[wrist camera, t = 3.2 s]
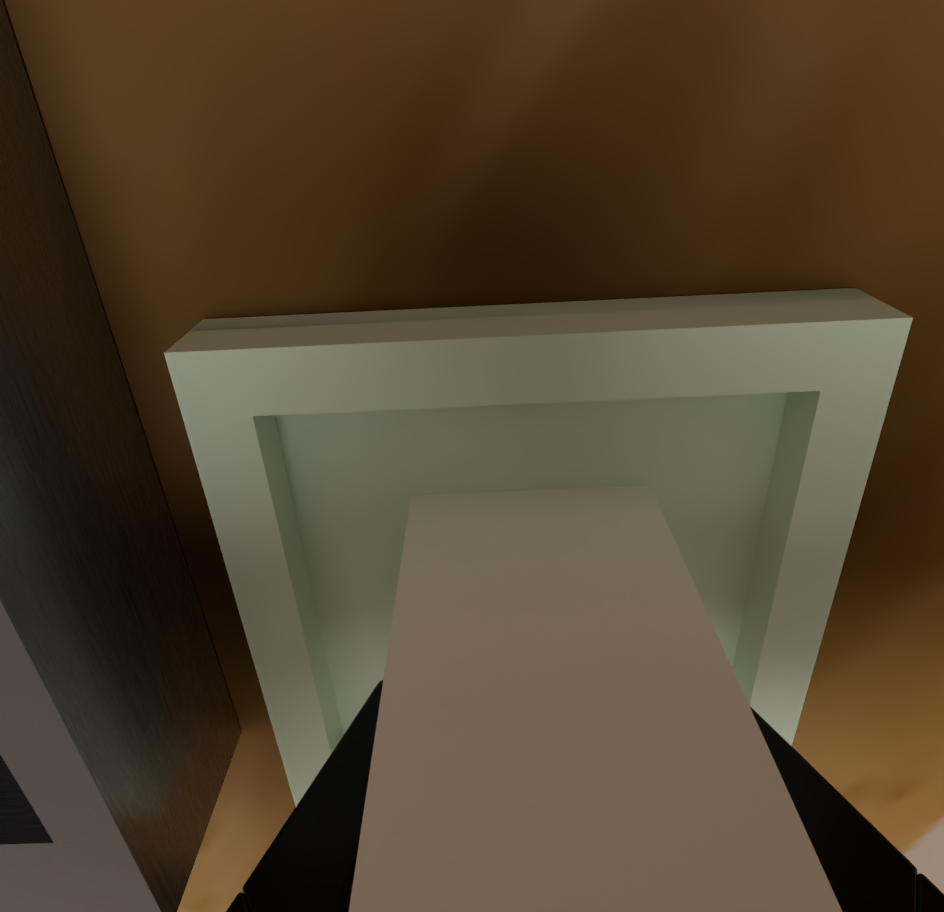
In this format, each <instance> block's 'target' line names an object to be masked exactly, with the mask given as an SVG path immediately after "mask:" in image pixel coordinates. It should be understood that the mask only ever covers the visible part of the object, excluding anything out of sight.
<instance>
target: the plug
mask: <svg viewBox="0 0 944 912" xmlns="http://www.w3.org/2000/svg"><path fill="white" fill-rule="evenodd" d="M349 912H842V910H841V907H840V905H839V903H838V901H837V899H836V896H835V894H834V892H833V890H832V887H831V885H830V883H829V881H828V879H827V876H826V874H825V872H824V870H823V868H822V865H821V863H820V861H819V859H818V857H817V854H816V852H815V850H814V848H813V845H812V843H811V841H810V839H809V837H808V834H807V832H806V830H805V828H804V826H803V823H802V821H801V819H800V817H799V814H798V812H797V810H796V808H795V806H794V803H793V801H792V799H791V797H790V795H789V792H788V790H787V788H786V786H785V783H784V781H783V779H782V777H781V775H780V772H779V770H778V768H777V766H776V764H775V761H774V759H773V757H772V755H771V752H770V750H769V748H768V746H767V744H766V741H765V739H764V737H763V735H762V733H761V730H760V728H759V726H758V724H757V721H756V719H755V717H754V715H753V713H752V710H751V708H750V706H749V704H748V702H747V699H746V697H745V695H744V693H743V690H742V688H741V686H740V684H739V682H738V679H737V677H736V675H735V673H734V671H733V668H732V666H731V664H730V662H729V659H728V657H727V655H726V653H725V651H724V648H723V646H722V644H721V642H720V640H719V637H718V635H717V633H716V631H715V629H714V626H713V624H712V622H711V620H710V617H709V615H708V613H707V611H706V609H705V606H704V604H703V602H702V600H701V598H700V595H699V593H698V591H697V589H696V586H695V584H694V582H693V580H692V578H691V575H690V573H689V571H688V569H687V567H686V564H685V562H684V560H683V558H682V555H681V553H680V551H679V549H678V547H677V544H676V542H675V540H674V538H673V536H672V533H671V531H670V529H669V527H668V524H667V522H666V520H665V518H664V516H663V513H662V511H661V509H660V507H659V505H658V502H657V500H656V498H655V496H654V493H653V491H652V489H651V487H650V485H641V486H617V487H593V488H569V489H545V490H521V491H497V492H473V493H449V494H426V495H411V498H410V505H409V511H408V518H407V525H406V532H405V538H404V545H403V552H402V558H401V565H400V572H399V578H398V585H397V592H396V598H395V605H394V612H393V619H392V625H391V632H390V639H389V645H388V652H387V659H386V665H385V672H384V679H383V685H382V692H381V699H380V705H379V712H378V719H377V726H376V732H375V739H374V746H373V752H372V759H371V766H370V772H369V779H368V786H367V792H366V799H365V806H364V813H363V819H362V826H361V833H360V839H359V846H358V853H357V859H356V866H355V873H354V879H353V886H352V893H351V899H350V906H349Z"/></svg>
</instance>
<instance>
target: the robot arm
mask: <svg viewBox="0 0 944 912" xmlns="http://www.w3.org/2000/svg"><path fill="white" fill-rule="evenodd" d="M382 685H383V680H381V681H380V682H379V683H378V684H377V685H376V687H375V688H374V690H373V691H372V693H371V694H370V696H369V697H368V699H367V700H366V702H365V703H364V705H363V706H362V708H361V709H360V711H359V712H358V714H357V715H356V717H355V718H354V720H353V721H352V723H351V724H350V726H349V728H348V729H347V731H346V732H345V734H344V735H343V737H342V738H341V740H340V741H339V743H338V744H337V746H336V747H335V749H334V750H333V752H332V753H331V755H330V756H329V758H328V759H327V761H326V762H325V764H324V765H323V767H322V768H321V770H320V771H319V773H318V774H317V776H316V777H315V779H314V780H313V782H312V783H311V785H310V786H309V788H308V789H307V791H306V792H305V794H304V795H303V797H302V798H301V800H300V802H299V803H298V805H297V806H296V808H295V809H294V811H293V812H292V814H291V815H290V817H289V818H288V820H287V821H286V823H285V824H284V826H283V827H282V829H281V830H280V832H279V833H278V835H277V836H276V838H275V839H274V841H273V842H272V844H271V845H270V847H269V848H268V850H267V851H266V853H265V854H264V856H263V857H262V859H261V860H260V862H259V863H258V865H257V866H256V868H255V869H254V871H253V872H252V874H251V876H250V877H249V879H248V880H247V882H246V883H245V885H244V886H243V892H244V894H243V893H239V894H238V895H237V896H236V898H235V899H234V901H233V902H232V904H231V905H230V907H229V908H228V910H227V911H226V912H349V906H350V899H351V893H352V886H353V879H354V873H355V866H356V859H357V853H358V846H359V839H360V833H361V826H362V819H363V813H364V806H365V799H366V792H367V786H368V779H369V772H370V766H371V759H372V752H373V746H374V739H375V732H376V726H377V719H378V712H379V705H380V699H381V692H382ZM749 706H750V705H749ZM750 708H751V710H752V713H753V715H754V717H755V719H756V721H757V724H758V726H759V728H760V730H761V733H762V735H763V737H764V739H765V741H766V744H767V746H768V748H769V750H770V752H771V755H772V757H773V759H774V761H775V764H776V766H777V768H778V770H779V772H780V775H781V777H782V779H783V781H784V783H785V786H786V788H787V790H788V792H789V795H790V797H791V799H792V801H793V803H794V806H795V808H796V810H797V812H798V814H799V817H800V819H801V821H802V823H803V826H804V828H805V830H806V832H807V834H808V837H809V839H810V841H811V843H812V845H813V848H814V850H815V852H816V854H817V857H818V859H819V861H820V863H821V865H822V868H823V870H824V872H825V874H826V876H827V879H828V881H829V883H830V885H831V887H832V890H833V892H834V894H835V896H836V899H837V901H838V903H839V905H840V907H841V910H842V912H944V894H943V893H942V892H941V891H940V890H939V889H938V888H937V887H936V886H935V885H934V884H932V882H930V881H929V879H927V877H925V876H924V875H923V874H918V875H917V869H916V867H915V866H914V865H913V864H912V863H911V862H910V861H909V860H908V859H907V858H906V857H905V856H904V855H903V854H902V853H901V852H899V851H898V850H897V849H896V848H895V847H894V846H893V845H892V844H891V843H890V842H889V841H888V840H887V839H886V838H885V837H884V836H883V835H882V834H881V833H880V832H879V831H878V830H877V829H876V828H875V827H874V826H873V825H872V824H871V823H870V822H869V821H868V820H867V819H866V818H865V817H864V816H863V815H862V814H860V813H859V812H858V811H857V810H856V809H855V808H854V807H853V806H852V805H851V804H850V803H849V802H848V801H847V800H846V799H845V798H844V797H843V796H842V795H841V794H840V793H839V792H838V791H837V790H836V789H835V788H834V787H833V786H832V785H831V784H830V783H829V782H828V781H827V780H826V779H825V778H824V777H823V776H821V775H820V774H819V773H818V772H817V771H816V770H815V769H814V768H813V767H812V766H811V765H810V764H809V763H808V762H807V761H806V760H805V759H804V758H803V757H802V756H801V755H800V754H799V753H798V752H797V751H796V750H795V749H794V748H793V747H792V746H791V745H790V744H789V743H788V742H787V741H786V740H785V739H784V738H782V737H781V736H780V735H779V734H778V733H777V732H776V731H775V730H774V729H773V728H772V727H771V726H770V725H769V724H768V723H767V722H766V721H765V720H764V719H763V718H762V717H761V716H760V715H759V714H758V713H757V712H756V711H755V710H754V709H753V708H752V707H751V706H750Z"/></svg>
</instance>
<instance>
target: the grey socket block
mask: <svg viewBox="0 0 944 912" xmlns="http://www.w3.org/2000/svg"><path fill="white" fill-rule="evenodd" d="M240 734H241V730H240V727H239V724H238V721H237V718H236V715H235V712H234V709H233V705H232V702H231V699H230V696H229V693H228V690H227V687H226V684H225V681H224V678H223V675H222V672H221V669H220V666H219V663H218V659H217V656H216V653H215V650H214V647H213V644H212V641H211V638H210V635H209V632H208V629H207V626H206V623H205V620H204V617H203V614H202V610H201V607H200V604H199V601H198V598H197V595H196V592H195V589H194V586H193V583H192V580H191V577H190V574H189V571H188V568H187V564H186V561H185V558H184V555H183V552H182V549H181V546H180V543H179V540H178V537H177V534H176V531H175V528H174V525H173V522H172V519H171V515H170V512H169V509H168V506H167V503H166V500H165V497H164V494H163V491H162V488H161V485H160V482H159V479H158V476H157V473H156V469H155V466H154V463H153V460H152V457H151V454H150V451H149V448H148V445H147V442H146V439H145V436H144V433H143V430H142V427H141V423H140V420H139V417H138V414H137V411H136V408H135V405H134V402H133V399H132V396H131V393H130V390H129V387H128V384H127V381H126V378H125V374H124V371H123V368H122V365H121V362H120V359H119V356H118V353H117V350H116V347H115V344H114V341H113V338H112V335H111V332H110V328H109V325H108V322H107V319H106V316H105V313H104V310H103V307H102V304H101V301H100V298H99V295H98V292H97V289H96V286H95V283H94V279H93V276H92V273H91V270H90V267H89V264H88V261H87V258H86V255H85V252H84V249H83V246H82V243H81V240H80V237H79V233H78V230H77V227H76V224H75V221H74V218H73V215H72V212H71V209H70V206H69V203H68V200H67V197H66V194H65V191H64V188H63V184H62V181H61V178H60V175H59V172H58V169H57V166H56V163H55V160H54V157H53V154H52V151H51V148H50V145H49V142H48V138H47V135H46V132H45V129H44V126H43V123H42V120H41V117H40V114H39V111H38V108H37V105H36V102H35V99H34V96H33V92H32V89H31V86H30V83H29V80H28V77H27V74H26V71H25V68H24V65H23V62H22V59H21V56H20V53H19V50H18V47H17V43H16V40H15V37H14V34H13V31H12V28H11V25H10V22H9V19H8V16H7V13H6V10H5V7H4V4H3V1H2V0H0V912H177V910H178V907H179V904H180V901H181V899H182V896H183V893H184V890H185V888H186V885H187V882H188V879H189V876H190V874H191V871H192V868H193V865H194V862H195V860H196V857H197V854H198V851H199V849H200V846H201V843H202V840H203V837H204V835H205V832H206V829H207V826H208V823H209V821H210V818H211V815H212V812H213V809H214V807H215V804H216V801H217V798H218V796H219V793H220V790H221V787H222V784H223V782H224V779H225V776H226V773H227V770H228V768H229V765H230V762H231V759H232V757H233V754H234V751H235V748H236V745H237V743H238V740H239V737H240Z"/></svg>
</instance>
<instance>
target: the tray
mask: <svg viewBox="0 0 944 912" xmlns="http://www.w3.org/2000/svg"><path fill="white" fill-rule="evenodd" d="M912 320H913V317H911V316H909V315H907V314H905V313H903V312H901V311H899V310H897V309H895V308H893V307H892V306H890V305H888V304H886V303H884V302H882V301H880V300H878V299H876V298H874V297H872V296H870V295H868V294H866V293H864V292H862V291H860V290H858V289H856V288H840V289H819V290H799V291H778V292H757V293H736V294H716V295H695V296H674V297H653V298H632V299H612V300H591V301H570V302H549V303H528V304H508V305H487V306H466V307H445V308H425V309H404V310H383V311H362V312H341V313H321V314H300V315H279V316H258V317H238V318H217V319H203V320H202V321H200V322H199V323H198V324H197V325H196V326H195V327H193V328H192V329H191V330H190V331H189V332H188V333H186V334H185V335H184V336H183V337H182V338H181V339H179V340H178V341H177V342H176V343H175V344H173V345H172V346H171V347H170V348H169V349H168V350H166V351H165V352H164V355H165V359H166V362H167V366H168V369H169V373H170V376H171V379H172V383H173V386H174V390H175V393H176V397H177V400H178V404H179V407H180V410H181V414H182V417H183V421H184V424H185V428H186V431H187V435H188V438H189V441H190V445H191V448H192V452H193V455H194V459H195V462H196V466H197V469H198V472H199V476H200V479H201V483H202V486H203V490H204V493H205V497H206V500H207V503H208V507H209V510H210V514H211V517H212V521H213V524H214V528H215V531H216V534H217V538H218V541H219V545H220V548H221V552H222V555H223V559H224V562H225V565H226V569H227V572H228V576H229V579H230V583H231V586H232V590H233V593H234V596H235V600H236V603H237V607H238V610H239V614H240V617H241V621H242V624H243V627H244V631H245V634H246V638H247V641H248V645H249V648H250V652H251V655H252V658H253V662H254V665H255V669H256V672H257V676H258V679H259V683H260V686H261V689H262V693H263V696H264V700H265V703H266V707H267V710H268V714H269V717H270V720H271V724H272V727H273V731H274V734H275V738H276V741H277V745H278V748H279V751H280V755H281V758H282V762H283V765H284V769H285V772H286V776H287V779H288V782H289V786H290V789H291V793H292V796H293V800H294V803H295V807H296V806H297V805H298V803H299V802H300V800H301V798H302V797H303V795H304V794H305V792H306V791H307V789H308V788H309V786H310V785H311V783H312V782H313V780H314V779H315V777H316V776H317V774H318V773H319V771H320V770H321V768H322V767H323V765H324V764H325V762H326V761H327V759H328V758H329V756H330V755H331V753H332V752H333V750H334V749H335V747H336V746H337V744H338V743H339V741H340V740H341V738H342V737H343V735H344V734H345V732H346V731H347V729H348V728H349V726H350V724H351V723H352V721H353V720H354V718H355V717H356V715H357V714H358V712H359V711H360V709H361V708H362V706H363V705H364V703H365V702H366V700H367V699H368V697H369V696H370V694H371V693H372V691H373V690H374V688H375V687H376V685H377V684H378V683H379V682H380V681H381V680H383V679H384V672H385V665H386V659H387V652H388V645H389V639H390V632H391V625H392V619H393V612H394V605H395V598H396V592H397V585H398V578H399V572H400V565H401V558H402V552H403V545H404V538H405V532H406V525H407V518H408V511H409V505H410V498H411V495H426V494H449V493H473V492H497V491H521V490H545V489H569V488H593V487H617V486H641V485H650V487H651V489H652V491H653V493H654V496H655V498H656V500H657V502H658V505H659V507H660V509H661V511H662V513H663V516H664V518H665V520H666V522H667V524H668V527H669V529H670V531H671V533H672V536H673V538H674V540H675V542H676V544H677V547H678V549H679V551H680V553H681V555H682V558H683V560H684V562H685V564H686V567H687V569H688V571H689V573H690V575H691V578H692V580H693V582H694V584H695V586H696V589H697V591H698V593H699V595H700V598H701V600H702V602H703V604H704V606H705V609H706V611H707V613H708V615H709V617H710V620H711V622H712V624H713V626H714V629H715V631H716V633H717V635H718V637H719V640H720V642H721V644H722V646H723V648H724V651H725V653H726V655H727V657H728V659H729V662H730V664H731V666H732V668H733V671H734V673H735V675H736V677H737V679H738V682H739V684H740V686H741V688H742V690H743V693H744V695H745V697H746V699H747V702H748V704H749V705H750V706H751V707H752V708H753V709H754V710H755V711H756V712H757V713H758V714H759V715H760V716H761V717H762V718H763V719H764V720H765V721H766V722H767V723H768V724H769V725H770V726H771V727H772V728H773V729H774V730H775V731H776V732H777V733H778V734H779V735H780V736H781V737H782V738H784V739H785V740H786V741H787V742H788V743H789V744H790V745H791V746H792V743H793V740H794V736H795V733H796V729H797V725H798V722H799V718H800V715H801V711H802V708H803V704H804V701H805V697H806V694H807V690H808V687H809V683H810V680H811V676H812V673H813V669H814V665H815V662H816V658H817V655H818V651H819V648H820V644H821V641H822V637H823V634H824V630H825V627H826V623H827V620H828V616H829V613H830V609H831V605H832V602H833V598H834V595H835V591H836V588H837V584H838V581H839V577H840V574H841V570H842V567H843V563H844V560H845V556H846V553H847V549H848V545H849V542H850V538H851V535H852V531H853V528H854V524H855V521H856V517H857V514H858V510H859V507H860V503H861V500H862V496H863V493H864V489H865V485H866V482H867V478H868V475H869V471H870V468H871V464H872V461H873V457H874V454H875V450H876V447H877V443H878V440H879V436H880V433H881V429H882V425H883V422H884V418H885V415H886V411H887V408H888V404H889V401H890V397H891V394H892V390H893V387H894V383H895V380H896V376H897V373H898V369H899V365H900V362H901V358H902V355H903V351H904V348H905V344H906V341H907V337H908V334H909V330H910V327H911V323H912Z"/></svg>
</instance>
